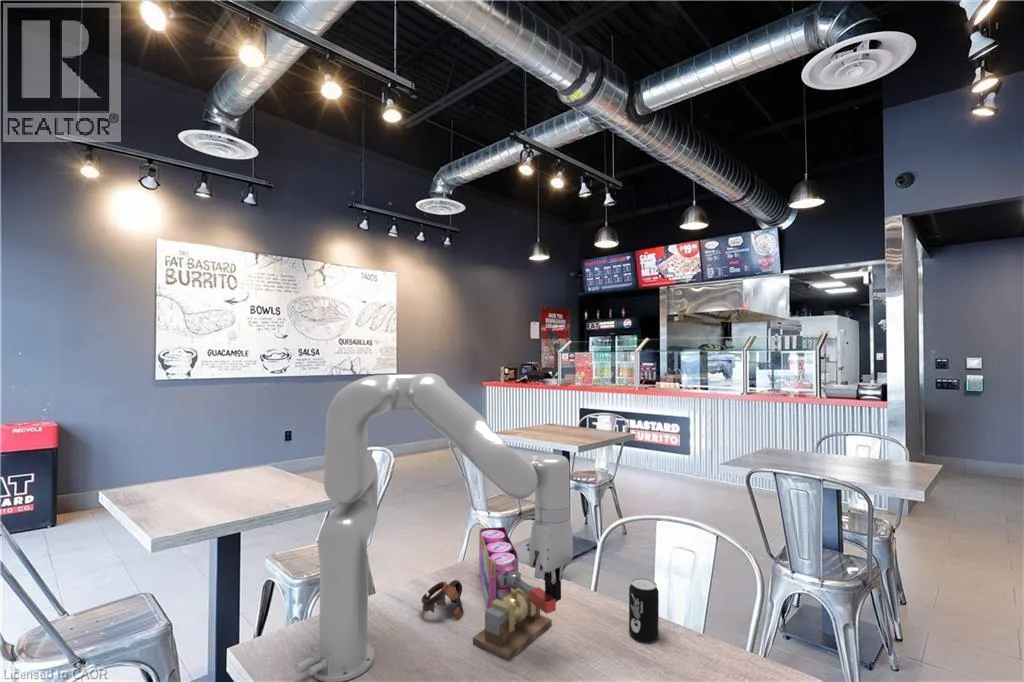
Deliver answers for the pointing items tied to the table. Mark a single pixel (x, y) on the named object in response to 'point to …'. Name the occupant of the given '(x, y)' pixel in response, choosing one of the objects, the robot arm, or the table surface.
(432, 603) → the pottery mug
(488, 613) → the ball valve
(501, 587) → the gum box
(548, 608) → the lever
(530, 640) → the valve board
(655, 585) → the beverage can
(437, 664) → the table surface
